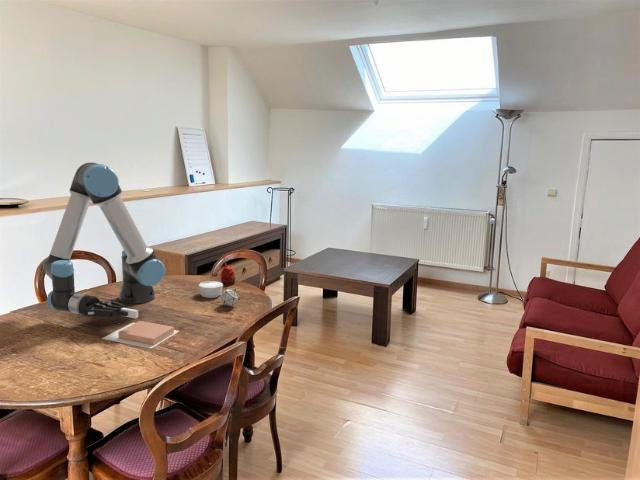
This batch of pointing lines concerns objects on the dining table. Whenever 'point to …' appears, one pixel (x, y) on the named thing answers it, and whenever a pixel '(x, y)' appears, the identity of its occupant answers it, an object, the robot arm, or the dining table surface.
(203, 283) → the ramekin
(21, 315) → the dining table surface
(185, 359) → the dining table surface
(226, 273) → the red clay folk toy
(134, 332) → the terracotta tile
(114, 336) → the rubber mat
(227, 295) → the game die
